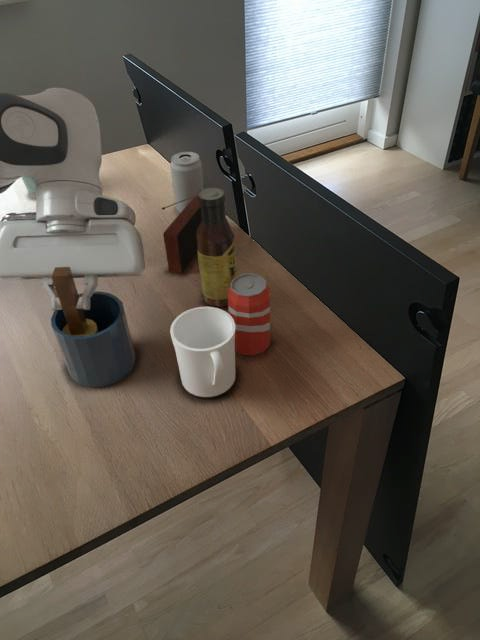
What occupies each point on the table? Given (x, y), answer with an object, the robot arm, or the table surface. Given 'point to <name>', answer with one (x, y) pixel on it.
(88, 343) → the blue bin
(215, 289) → the sauce bottle
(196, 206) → the radio
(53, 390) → the table surface
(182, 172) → the beverage can
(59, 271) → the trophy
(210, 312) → the mug
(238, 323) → the beverage can
